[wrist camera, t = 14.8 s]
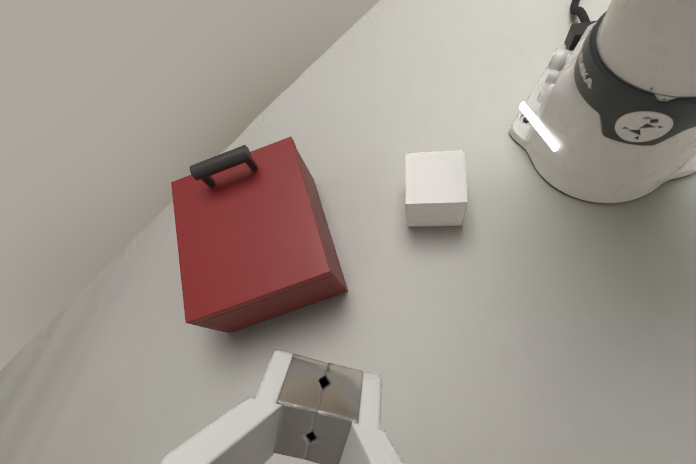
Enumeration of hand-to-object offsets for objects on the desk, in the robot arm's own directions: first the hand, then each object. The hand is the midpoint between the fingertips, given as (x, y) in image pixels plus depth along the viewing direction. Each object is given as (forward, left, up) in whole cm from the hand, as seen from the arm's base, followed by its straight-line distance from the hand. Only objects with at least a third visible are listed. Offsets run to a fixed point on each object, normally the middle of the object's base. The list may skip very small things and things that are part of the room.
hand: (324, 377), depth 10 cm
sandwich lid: (-8, -19, -22) cm, 30 cm away
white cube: (-20, -3, -29) cm, 35 cm away
